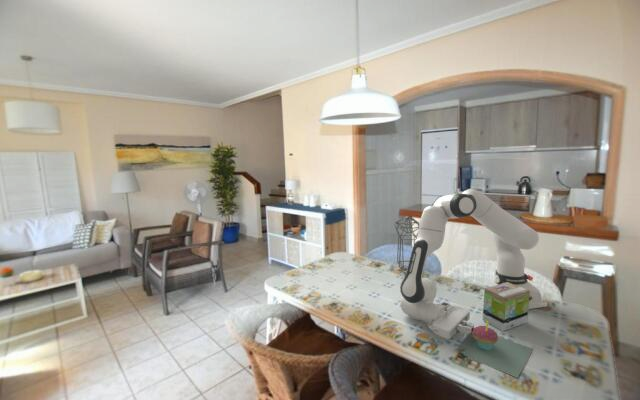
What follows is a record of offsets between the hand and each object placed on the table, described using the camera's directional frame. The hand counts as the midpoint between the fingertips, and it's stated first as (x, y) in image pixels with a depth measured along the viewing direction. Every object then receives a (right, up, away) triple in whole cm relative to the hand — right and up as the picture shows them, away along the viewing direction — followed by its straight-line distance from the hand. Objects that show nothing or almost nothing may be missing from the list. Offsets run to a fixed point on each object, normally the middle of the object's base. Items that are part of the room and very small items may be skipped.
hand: (472, 329), depth 113 cm
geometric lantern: (-3, +5, +72) cm, 72 cm away
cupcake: (+3, -5, -2) cm, 7 cm away
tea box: (+20, -3, +13) cm, 24 cm away
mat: (+5, -6, -4) cm, 9 cm away
